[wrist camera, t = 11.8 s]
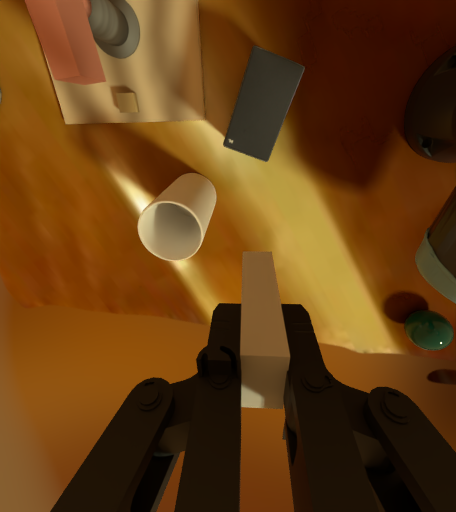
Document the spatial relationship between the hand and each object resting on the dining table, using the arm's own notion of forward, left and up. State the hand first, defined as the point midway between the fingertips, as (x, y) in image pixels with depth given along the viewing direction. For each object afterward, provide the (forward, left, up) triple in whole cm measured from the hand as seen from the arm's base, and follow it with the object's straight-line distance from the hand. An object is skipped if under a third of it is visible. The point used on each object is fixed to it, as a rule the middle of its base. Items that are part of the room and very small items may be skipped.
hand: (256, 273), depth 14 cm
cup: (+10, +5, -33) cm, 34 cm away
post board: (+18, -18, -32) cm, 41 cm away
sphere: (-37, +32, -33) cm, 59 cm away
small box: (-1, -8, -33) cm, 34 cm away
